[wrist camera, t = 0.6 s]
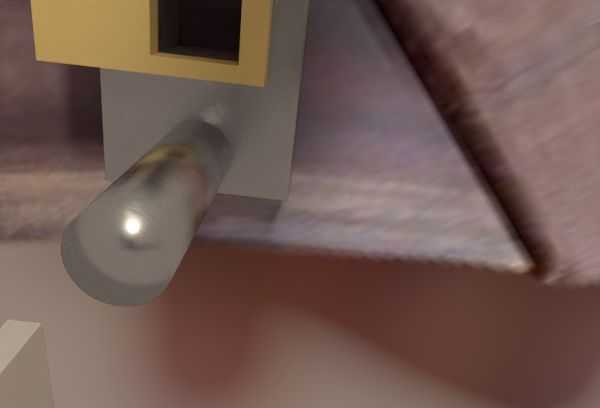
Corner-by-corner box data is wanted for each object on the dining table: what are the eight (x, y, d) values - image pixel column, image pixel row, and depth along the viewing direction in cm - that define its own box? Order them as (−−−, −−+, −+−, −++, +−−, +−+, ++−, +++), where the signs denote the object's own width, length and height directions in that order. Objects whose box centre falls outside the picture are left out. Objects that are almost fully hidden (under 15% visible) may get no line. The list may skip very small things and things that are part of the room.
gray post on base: (123, -71, 31) (-105, -141, 14) (315, -48, 31) (307, -92, 15) (129, 158, 37) (-27, 295, 20) (291, 177, 37) (265, 329, 20)
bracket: (75, -68, 31) (22, -80, 26) (283, -43, 31) (274, -50, 26) (82, 48, 34) (36, 60, 28) (273, 71, 34) (263, 86, 28)
